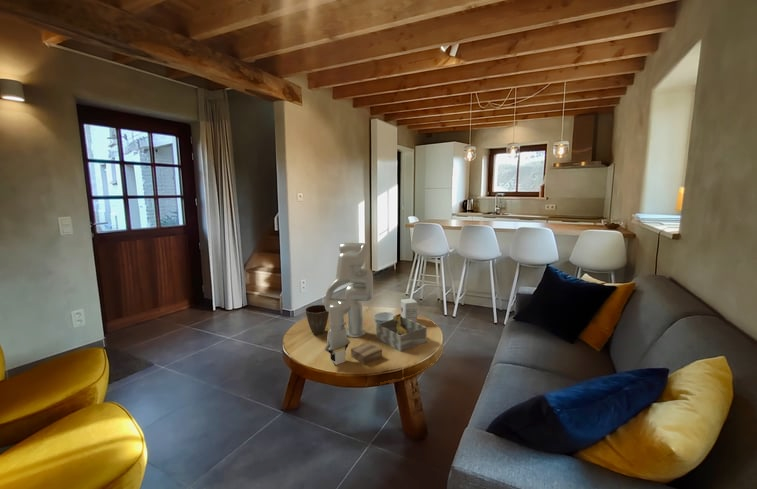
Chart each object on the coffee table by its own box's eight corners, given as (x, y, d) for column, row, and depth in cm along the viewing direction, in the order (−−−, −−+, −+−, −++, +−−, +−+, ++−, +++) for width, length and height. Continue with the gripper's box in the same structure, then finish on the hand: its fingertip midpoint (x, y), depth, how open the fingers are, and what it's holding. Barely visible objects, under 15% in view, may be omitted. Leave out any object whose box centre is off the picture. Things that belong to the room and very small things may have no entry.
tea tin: (331, 360, 183) (330, 346, 181) (340, 357, 186) (339, 343, 185) (336, 364, 178) (335, 350, 177) (345, 361, 181) (345, 347, 180)
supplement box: (400, 319, 239) (400, 299, 237) (412, 318, 242) (412, 297, 239) (405, 324, 230) (405, 303, 228) (417, 322, 233) (417, 301, 231)
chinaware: (397, 331, 219) (396, 320, 218) (373, 331, 219) (373, 320, 218) (396, 322, 234) (396, 312, 233) (374, 322, 234) (374, 312, 233)
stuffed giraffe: (397, 330, 219) (397, 307, 216) (420, 339, 208) (421, 314, 205) (381, 340, 207) (381, 315, 204) (405, 349, 196) (405, 324, 193)
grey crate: (376, 337, 210) (376, 324, 209) (402, 329, 222) (402, 316, 221) (400, 351, 192) (400, 336, 191) (426, 341, 204) (426, 327, 203)
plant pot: (332, 328, 226) (331, 305, 224) (327, 337, 212) (326, 313, 209) (310, 327, 228) (309, 304, 225) (303, 337, 213) (302, 312, 210)
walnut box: (351, 357, 187) (351, 348, 186) (368, 350, 195) (368, 342, 194) (364, 365, 178) (364, 356, 177) (382, 358, 186) (381, 349, 185)
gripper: (347, 320, 187) (348, 351, 190) (318, 328, 177) (320, 360, 180) (354, 324, 181) (355, 356, 184) (325, 333, 171) (327, 366, 174)
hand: (338, 358), depth 182 cm, fingers closed on tea tin, 5 cm apart
